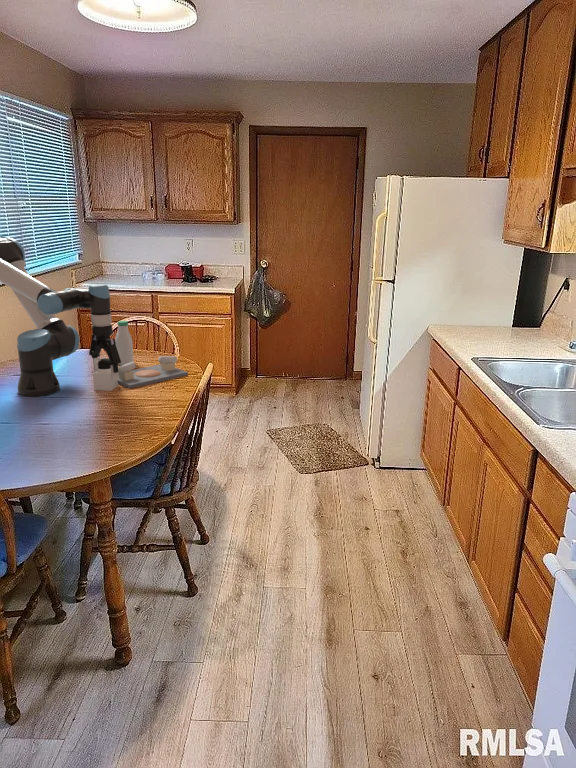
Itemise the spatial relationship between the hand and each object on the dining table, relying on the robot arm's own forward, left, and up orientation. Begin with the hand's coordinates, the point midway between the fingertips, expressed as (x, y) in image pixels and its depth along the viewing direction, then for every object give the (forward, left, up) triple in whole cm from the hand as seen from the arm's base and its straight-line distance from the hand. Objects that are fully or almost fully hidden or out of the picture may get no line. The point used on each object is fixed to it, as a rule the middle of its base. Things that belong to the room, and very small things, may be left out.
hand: (106, 376), depth 223 cm
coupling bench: (+21, +2, -5) cm, 22 cm away
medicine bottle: (0, 0, -5) cm, 5 cm away
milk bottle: (+25, +27, -5) cm, 37 cm away
